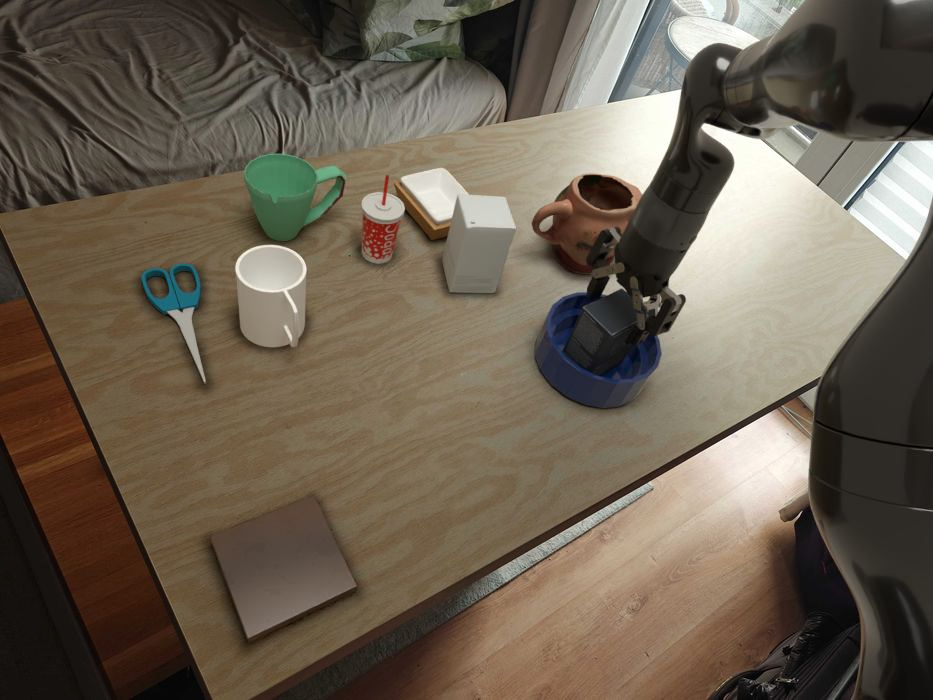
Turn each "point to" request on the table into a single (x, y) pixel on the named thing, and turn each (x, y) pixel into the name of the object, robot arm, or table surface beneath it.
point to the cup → (271, 295)
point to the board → (282, 567)
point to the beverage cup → (380, 224)
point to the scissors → (172, 307)
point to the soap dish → (430, 199)
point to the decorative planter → (586, 217)
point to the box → (602, 333)
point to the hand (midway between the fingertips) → (611, 319)
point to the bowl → (578, 382)
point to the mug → (289, 193)
